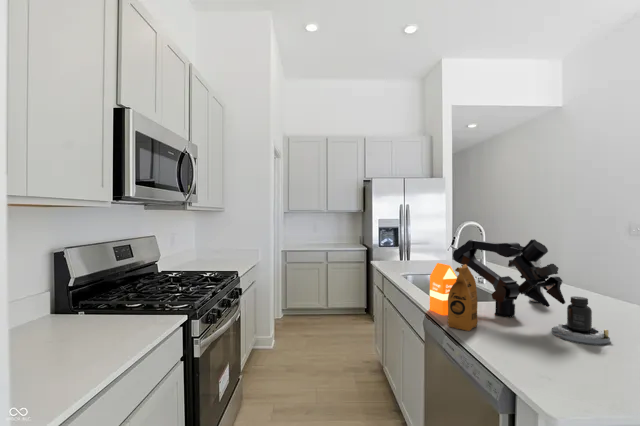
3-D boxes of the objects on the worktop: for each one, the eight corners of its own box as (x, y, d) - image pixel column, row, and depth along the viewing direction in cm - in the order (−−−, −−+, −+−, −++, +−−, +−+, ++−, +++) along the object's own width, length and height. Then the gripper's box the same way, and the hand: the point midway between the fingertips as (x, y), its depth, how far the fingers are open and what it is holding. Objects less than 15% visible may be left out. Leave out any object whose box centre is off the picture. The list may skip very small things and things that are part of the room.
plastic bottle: (541, 300, 170) (542, 258, 170) (545, 304, 163) (546, 260, 163) (526, 299, 172) (526, 258, 172) (529, 303, 165) (529, 259, 165)
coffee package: (442, 326, 131) (443, 266, 131) (454, 319, 140) (454, 262, 140) (471, 332, 124) (471, 269, 124) (481, 324, 134) (481, 265, 134)
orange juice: (444, 308, 156) (444, 262, 156) (458, 313, 148) (458, 265, 148) (429, 309, 154) (429, 263, 153) (442, 315, 145) (442, 266, 145)
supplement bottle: (596, 335, 119) (597, 299, 119) (582, 337, 117) (582, 301, 117) (576, 329, 126) (576, 294, 126) (562, 331, 124) (562, 296, 124)
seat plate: (549, 337, 120) (549, 327, 120) (553, 325, 132) (553, 316, 132) (611, 349, 110) (611, 337, 110) (608, 334, 123) (608, 324, 123)
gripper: (526, 257, 129) (557, 295, 119) (557, 255, 137) (589, 289, 127) (505, 275, 136) (534, 312, 126) (537, 272, 144) (565, 306, 134)
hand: (556, 304), depth 128 cm, fingers open, 9 cm apart
